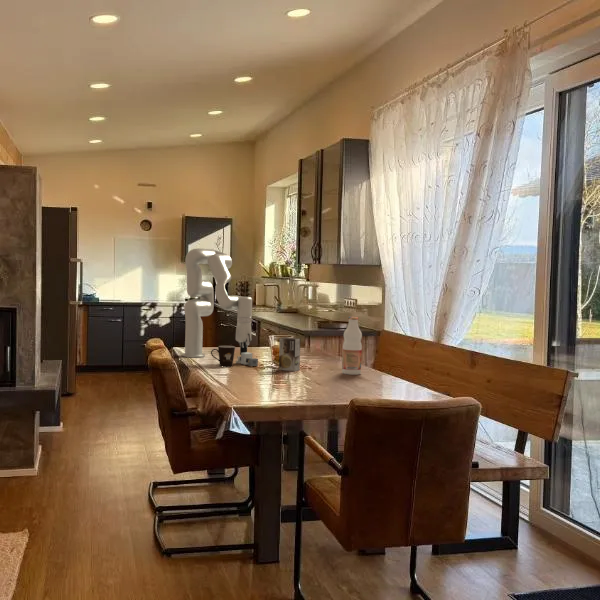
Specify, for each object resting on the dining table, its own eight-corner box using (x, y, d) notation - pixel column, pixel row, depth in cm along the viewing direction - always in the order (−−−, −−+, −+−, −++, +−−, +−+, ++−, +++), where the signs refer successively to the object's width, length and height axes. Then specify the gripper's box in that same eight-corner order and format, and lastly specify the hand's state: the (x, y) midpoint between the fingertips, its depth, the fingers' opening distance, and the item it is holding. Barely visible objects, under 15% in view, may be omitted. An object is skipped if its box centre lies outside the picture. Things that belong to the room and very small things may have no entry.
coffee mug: (236, 365, 372) (236, 346, 371) (232, 367, 363) (233, 347, 363) (213, 364, 373) (214, 345, 373) (210, 366, 364) (210, 346, 364)
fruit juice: (337, 372, 359) (340, 316, 357) (353, 371, 364) (355, 316, 363) (349, 375, 351) (351, 317, 350) (364, 374, 356) (366, 317, 355)
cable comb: (235, 362, 381) (235, 356, 381) (245, 362, 384) (246, 356, 384) (236, 363, 380) (236, 356, 380) (246, 362, 383) (247, 356, 383)
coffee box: (300, 370, 363) (301, 338, 363) (294, 371, 357) (295, 339, 357) (283, 368, 367) (284, 336, 366) (278, 369, 361) (279, 337, 361)
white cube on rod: (240, 363, 377) (241, 352, 377) (248, 363, 380) (248, 352, 379) (244, 364, 374) (244, 353, 373) (252, 364, 376) (252, 353, 376)
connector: (248, 366, 370) (248, 358, 370) (255, 365, 372) (255, 358, 372) (250, 366, 368) (250, 359, 368) (257, 366, 370) (257, 358, 370)
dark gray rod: (237, 361, 382) (238, 355, 382) (243, 361, 384) (243, 355, 383) (251, 365, 368) (251, 359, 368) (256, 365, 370) (257, 359, 370)
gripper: (231, 319, 384) (230, 353, 384) (244, 321, 371) (243, 357, 372) (244, 319, 387) (243, 353, 388) (257, 321, 375) (256, 356, 375)
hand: (243, 355), depth 380 cm, fingers closed
